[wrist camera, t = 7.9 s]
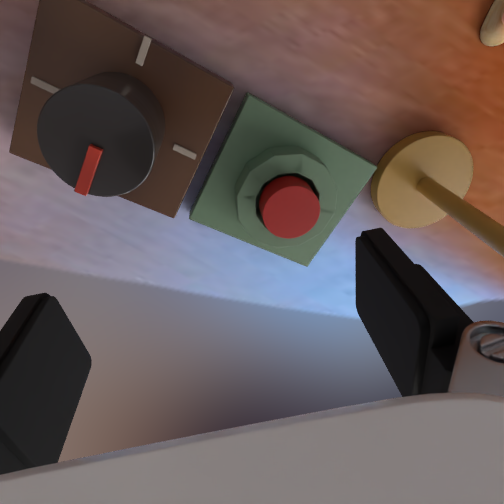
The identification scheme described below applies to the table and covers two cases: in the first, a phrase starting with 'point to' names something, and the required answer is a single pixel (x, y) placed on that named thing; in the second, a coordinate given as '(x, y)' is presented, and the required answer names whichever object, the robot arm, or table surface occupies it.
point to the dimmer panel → (131, 63)
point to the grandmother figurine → (493, 25)
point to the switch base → (270, 168)
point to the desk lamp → (430, 186)
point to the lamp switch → (289, 207)
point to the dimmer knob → (102, 133)
